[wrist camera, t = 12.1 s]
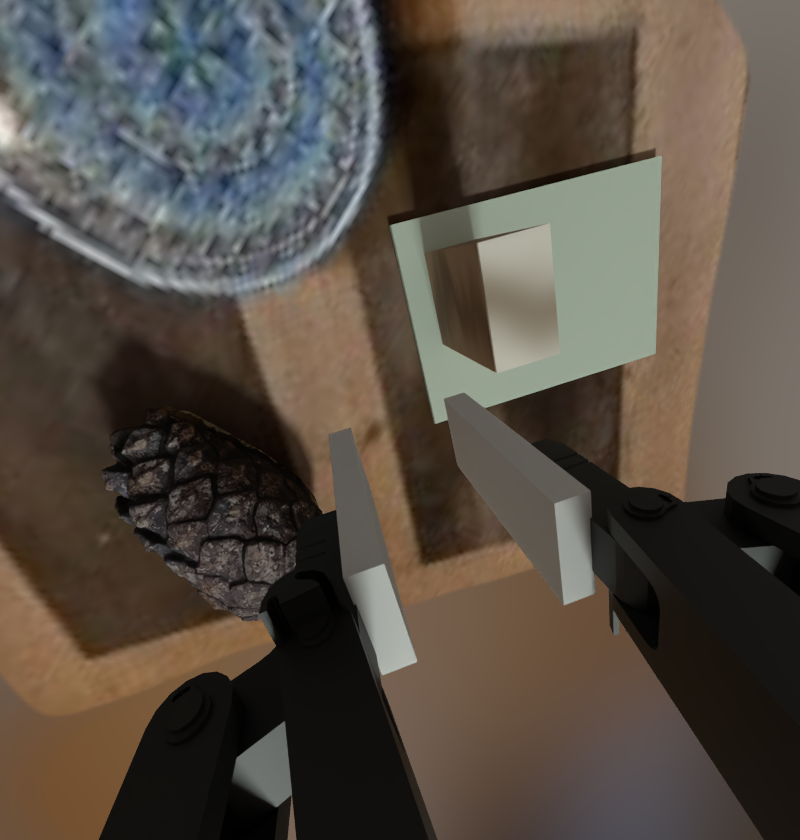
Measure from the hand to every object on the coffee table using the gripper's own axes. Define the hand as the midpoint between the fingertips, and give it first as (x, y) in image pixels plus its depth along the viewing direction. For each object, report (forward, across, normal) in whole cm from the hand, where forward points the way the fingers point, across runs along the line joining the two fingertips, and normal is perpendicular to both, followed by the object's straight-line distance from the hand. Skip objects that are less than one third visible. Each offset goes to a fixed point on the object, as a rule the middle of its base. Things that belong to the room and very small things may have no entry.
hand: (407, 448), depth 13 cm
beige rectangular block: (+18, +9, +2) cm, 20 cm away
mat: (+19, +16, 0) cm, 25 cm away
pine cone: (+19, -13, -8) cm, 24 cm away
